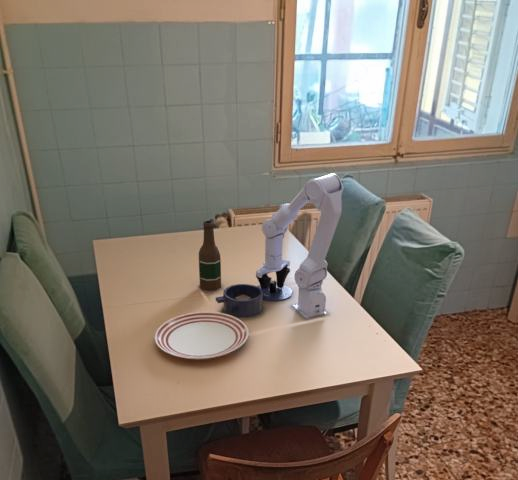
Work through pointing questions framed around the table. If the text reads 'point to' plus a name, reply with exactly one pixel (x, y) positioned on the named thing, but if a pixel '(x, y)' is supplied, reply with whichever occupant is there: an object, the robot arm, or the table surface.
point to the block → (243, 297)
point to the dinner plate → (201, 335)
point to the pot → (243, 306)
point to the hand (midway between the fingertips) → (272, 290)
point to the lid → (277, 292)
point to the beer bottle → (209, 260)
